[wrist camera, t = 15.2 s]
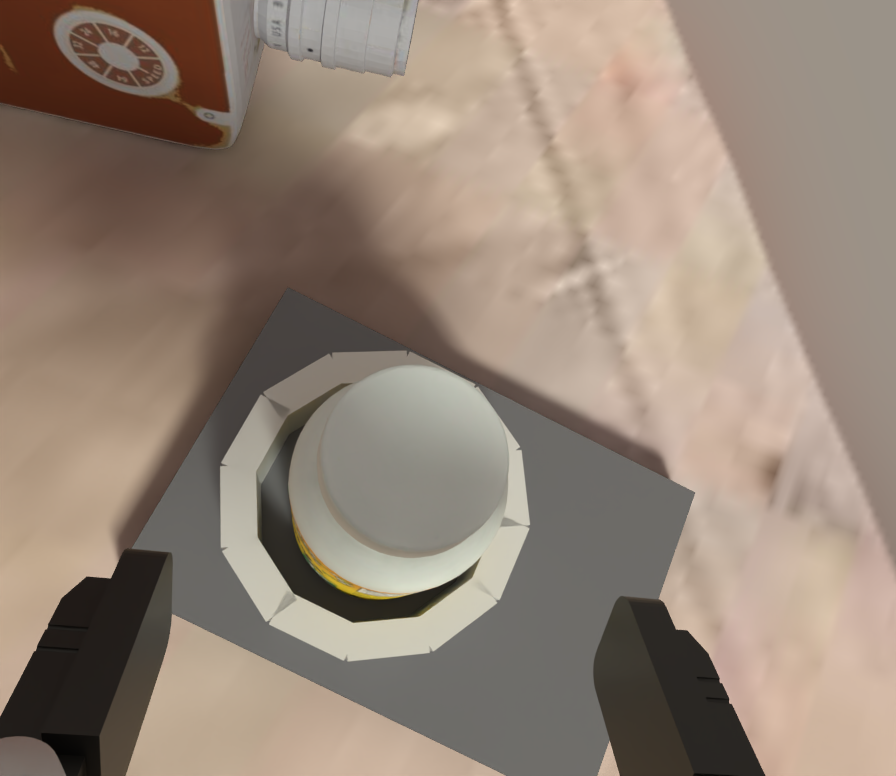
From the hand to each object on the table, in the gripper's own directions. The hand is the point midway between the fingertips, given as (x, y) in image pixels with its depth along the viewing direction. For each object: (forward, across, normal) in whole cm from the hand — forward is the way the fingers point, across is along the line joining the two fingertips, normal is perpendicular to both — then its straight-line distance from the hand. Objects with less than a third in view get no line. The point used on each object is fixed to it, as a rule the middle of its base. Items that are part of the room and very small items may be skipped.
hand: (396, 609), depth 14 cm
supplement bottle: (+10, 0, +6) cm, 11 cm away
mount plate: (+10, -2, +7) cm, 13 cm away
